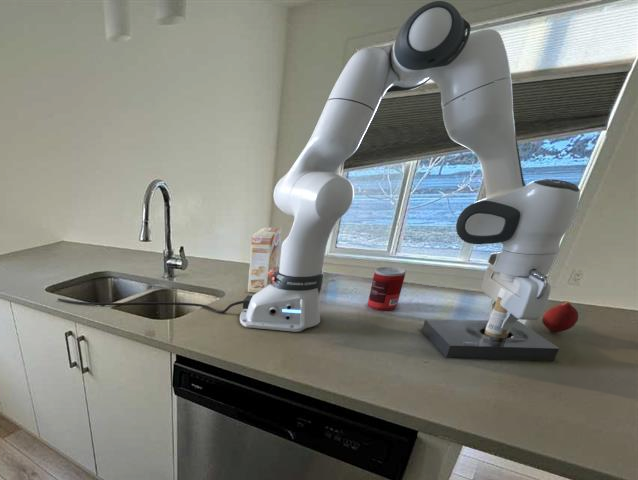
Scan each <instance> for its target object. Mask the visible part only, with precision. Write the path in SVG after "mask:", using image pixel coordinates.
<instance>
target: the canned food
mask: <svg viewBox="0 0 638 480" xmlns="http://www.w3.org/2000/svg"><path fill="white" fill-rule="evenodd" d="M406 272H407V271H406V269H404V268H401V267H398V266H397V267H396V266H380V267H377V268H376V269H375V270H374V274H373V278H372V282H371V287H370V292H369V296H368V301H367V306H368V307H369V308H370V309H373V310H376V311H383V312H385V311H393V310H395V309H396V308H397V306H398V303H399V299H400V296H401V292H402V289H403V285H404V281H405V278H406Z"/></svg>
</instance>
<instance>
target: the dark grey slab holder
mask: <svg viewBox="0 0 638 480" xmlns="http://www.w3.org/2000/svg"><path fill="white" fill-rule="evenodd" d="M488 321H489V319H486V320H485V319H484V320H482V319H481V320H480V319H475V320H474V319H424V322H423V325H422V328H421V331H422V332H423V333H424V335H426V336H427V338H428V339H429V340H430V341H431V342H432V343H433V344H434V345H435V347H436V348H437V349H438V350H439V351H440V352H441V353H442V354H443V355H444V357H446V358H456V359H457V358H458V359H482V360H483V359H485V360H486V359H487V360H512V361H513V360H514V361H543V362H545V361H546V362H554V361H555V359H556V357H557V355H558V353H559V351H560V348H559V347H558V346H557V345H556V344H555V343H552V342H550V341H549V340H548V339H546V337H545V338H544V337H543V336H542V335H540V334H538V333H537V332H535V331H534V330H533V329H532V328H530V327H529V326H527V325H525V324H524V323H522V322H521V321H520V320H517V321H516V322H515V323H514V325H513V327H512V329H511V330H510V333H509V334H508V337H507V338H495V337H490V336H486V335H484V332H485V330H486V326H487V324H488Z"/></svg>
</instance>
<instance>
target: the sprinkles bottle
mask: <svg viewBox="0 0 638 480" xmlns="http://www.w3.org/2000/svg"><path fill="white" fill-rule="evenodd" d="M505 292H506V291H505V290H504V289H503V288H501V289H500V291H499V293H498V299H497V301H496V304H495V306H494V308H493V311H492V313H491V316H490V318H489V317H488V318H489V319H488V320H489V321H488V324H487V326H486V330H485V332H484V335H486V336H490V337H495V338H507V337H508V334H509V333H510V330H511V329H510V330H503V329H502V328H501V327H500V326H499V325H500V324H501V320H504V319H505V318H506V317H507V315H506V314H507V310H506V309H504V308H503V307H502V306H501V305H500V301H501V300H502V299H501V298H503V297H504V295H505Z"/></svg>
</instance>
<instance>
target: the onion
mask: <svg viewBox="0 0 638 480" xmlns="http://www.w3.org/2000/svg"><path fill="white" fill-rule="evenodd" d="M578 320H579V311H577V309H576V307H574V306H573V305H572V304H571V303H570V301H568V300H563V301H562V304H558V305H554V306H552V307H551V308H549V309H548V310H546V312H545V313H543V315H542V324H543V325H544V327H545V328H546V329H547V330H548V331H549V333H552V334H557V333H561V332H564V331H567V330H570V329H571V328H573V327H574V326H575V325H576V324H577V322H578Z"/></svg>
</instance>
